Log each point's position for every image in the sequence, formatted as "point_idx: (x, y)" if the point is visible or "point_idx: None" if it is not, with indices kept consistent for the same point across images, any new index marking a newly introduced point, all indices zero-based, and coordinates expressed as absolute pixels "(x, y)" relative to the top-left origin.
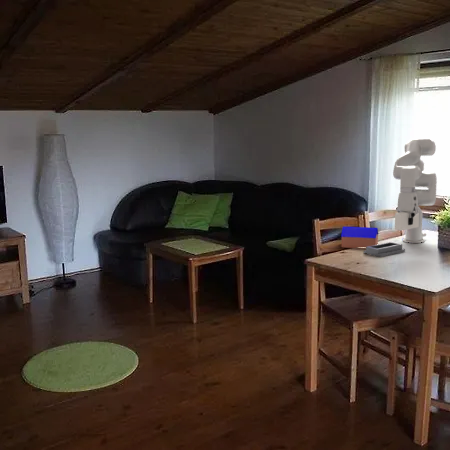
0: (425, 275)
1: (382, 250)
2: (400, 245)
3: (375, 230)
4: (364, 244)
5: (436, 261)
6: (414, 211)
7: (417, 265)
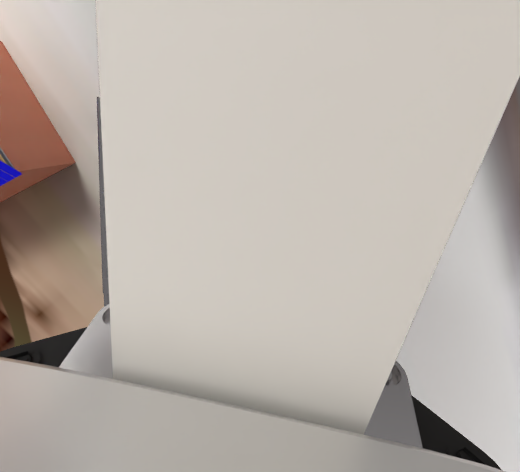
0: (494, 460)
1: None
2: None
3: None
4: (10, 190)
5: (486, 244)
6: (398, 346)
7: (419, 356)
